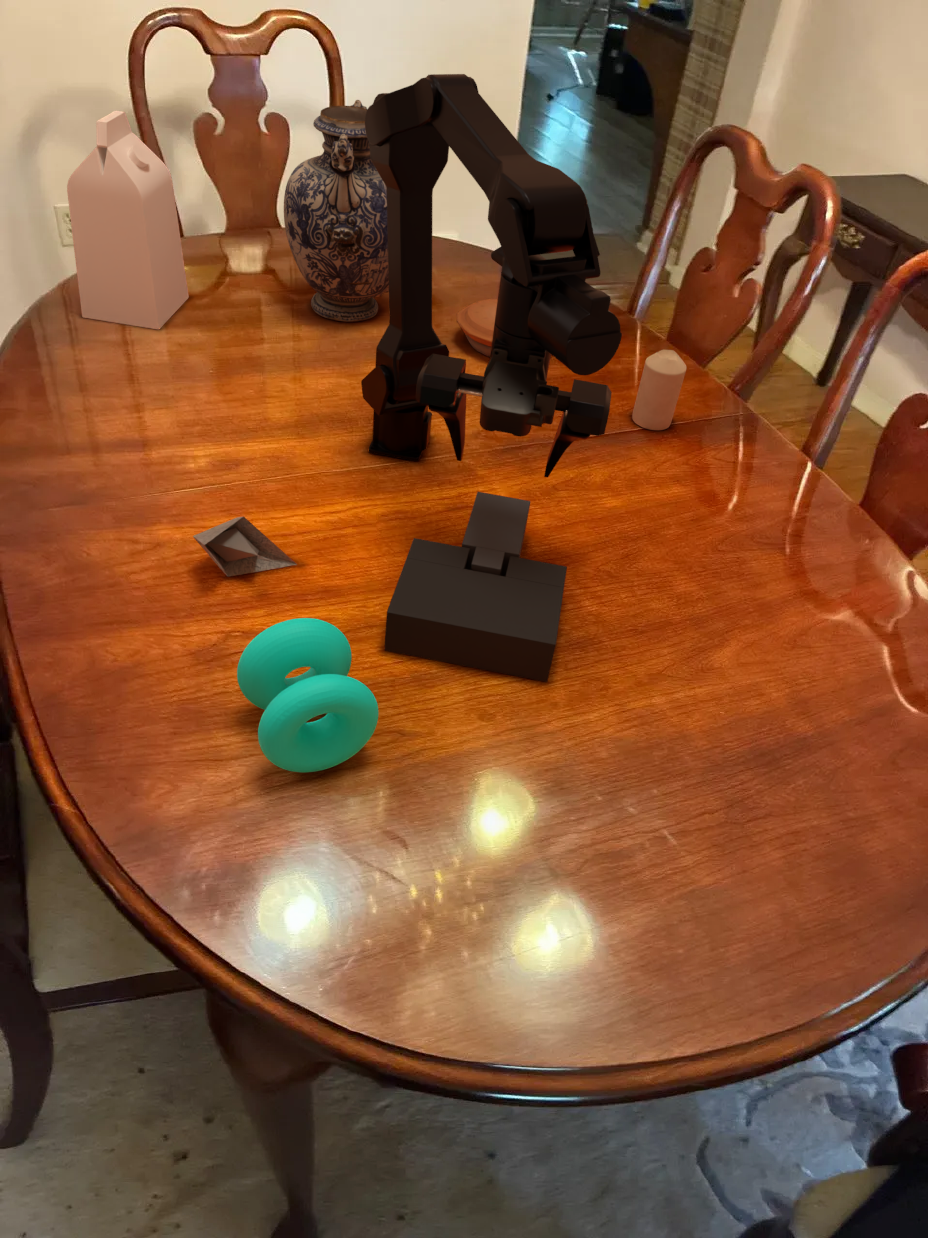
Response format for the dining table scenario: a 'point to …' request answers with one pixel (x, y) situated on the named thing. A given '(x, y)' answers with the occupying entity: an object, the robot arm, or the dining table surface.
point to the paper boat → (241, 548)
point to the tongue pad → (495, 532)
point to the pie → (479, 324)
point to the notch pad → (476, 611)
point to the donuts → (306, 695)
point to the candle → (659, 390)
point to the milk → (126, 231)
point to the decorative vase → (340, 219)
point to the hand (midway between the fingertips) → (502, 467)
